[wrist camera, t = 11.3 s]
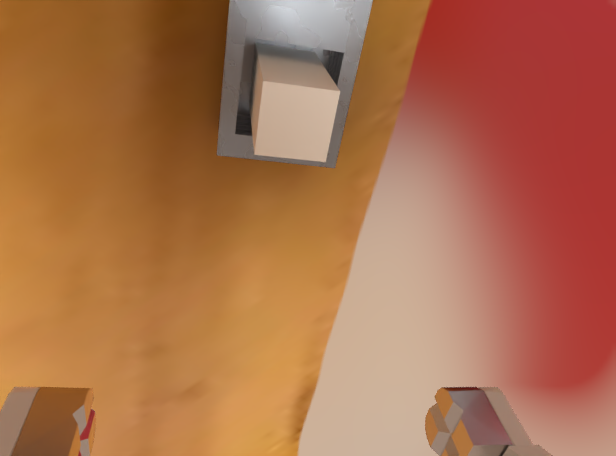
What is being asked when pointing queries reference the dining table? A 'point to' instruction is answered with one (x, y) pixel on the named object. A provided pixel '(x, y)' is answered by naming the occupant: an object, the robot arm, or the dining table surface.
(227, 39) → the grey peg holder
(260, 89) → the block
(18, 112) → the dining table surface
